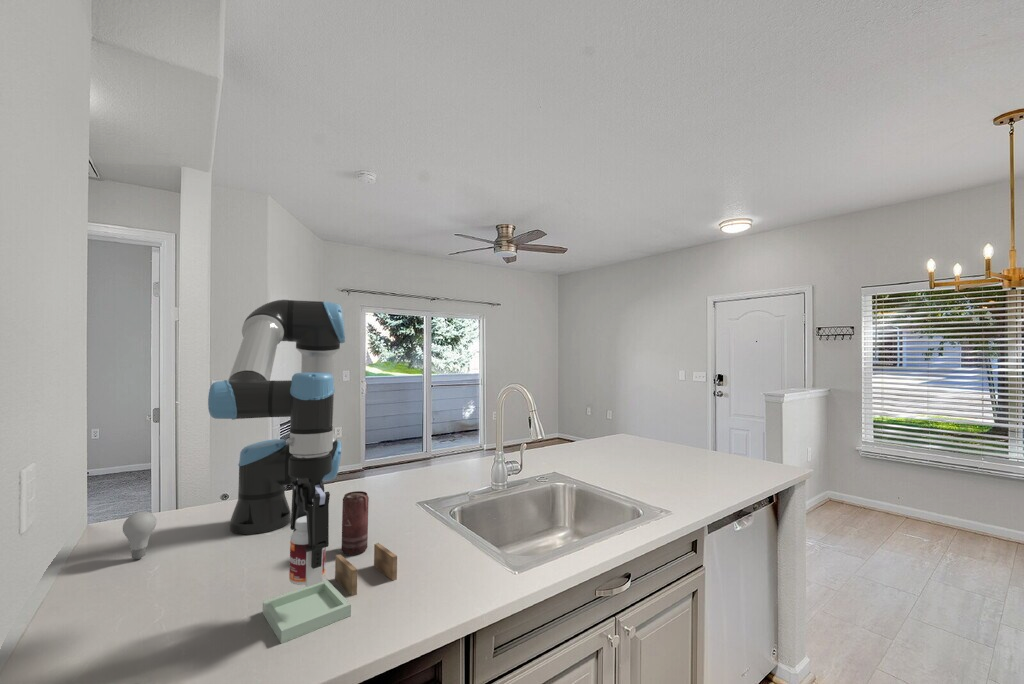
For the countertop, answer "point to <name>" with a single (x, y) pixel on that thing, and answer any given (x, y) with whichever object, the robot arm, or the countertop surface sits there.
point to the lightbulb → (139, 532)
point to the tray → (305, 610)
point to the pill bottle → (300, 553)
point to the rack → (348, 572)
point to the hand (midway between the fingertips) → (307, 576)
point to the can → (355, 523)
